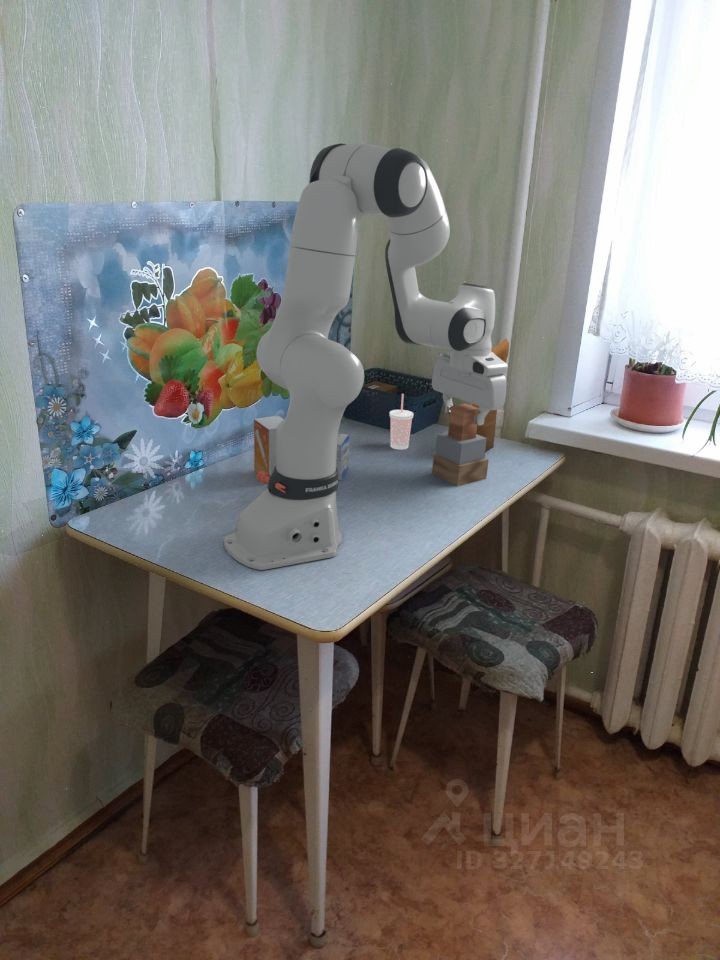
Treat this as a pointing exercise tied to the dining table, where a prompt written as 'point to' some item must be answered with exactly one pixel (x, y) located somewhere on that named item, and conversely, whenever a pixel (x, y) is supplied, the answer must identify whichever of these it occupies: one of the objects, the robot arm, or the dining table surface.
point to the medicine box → (342, 454)
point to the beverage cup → (400, 427)
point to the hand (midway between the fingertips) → (464, 418)
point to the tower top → (460, 448)
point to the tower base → (459, 470)
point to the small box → (265, 443)
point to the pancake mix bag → (490, 419)
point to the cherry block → (463, 422)
